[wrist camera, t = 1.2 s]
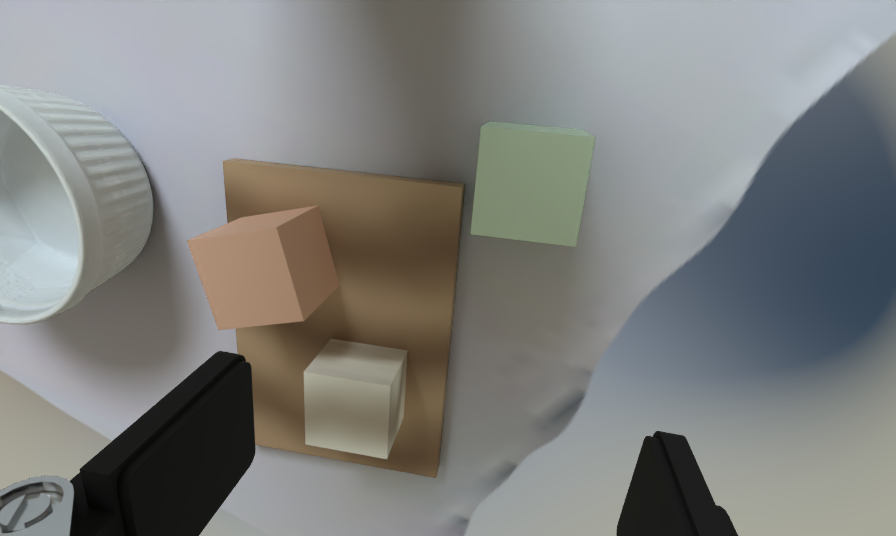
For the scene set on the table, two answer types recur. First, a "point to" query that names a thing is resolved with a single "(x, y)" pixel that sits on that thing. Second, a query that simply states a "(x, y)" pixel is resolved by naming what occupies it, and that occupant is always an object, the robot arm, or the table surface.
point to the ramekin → (64, 203)
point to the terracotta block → (266, 268)
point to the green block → (531, 182)
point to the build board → (358, 317)
